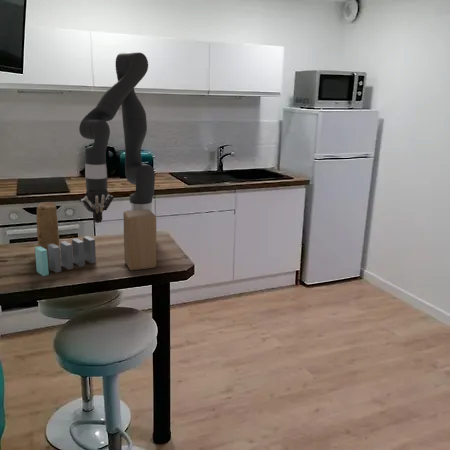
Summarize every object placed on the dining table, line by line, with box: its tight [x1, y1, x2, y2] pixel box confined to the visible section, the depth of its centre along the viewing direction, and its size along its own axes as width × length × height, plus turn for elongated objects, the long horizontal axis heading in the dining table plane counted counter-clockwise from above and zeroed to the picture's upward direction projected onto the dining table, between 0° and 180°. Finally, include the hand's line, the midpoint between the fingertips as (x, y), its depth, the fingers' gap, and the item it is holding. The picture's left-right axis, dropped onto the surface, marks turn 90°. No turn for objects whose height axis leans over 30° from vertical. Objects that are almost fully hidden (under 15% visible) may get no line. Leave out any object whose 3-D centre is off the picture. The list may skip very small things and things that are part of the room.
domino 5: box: [82, 235, 97, 264], centre depth 167 cm, size 2×5×9 cm, turn 45°
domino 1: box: [34, 246, 50, 277], centre depth 155 cm, size 2×5×9 cm, turn 45°
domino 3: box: [59, 240, 74, 270], centre depth 161 cm, size 2×5×9 cm, turn 45°
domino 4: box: [71, 237, 86, 267], centre depth 164 cm, size 2×5×9 cm, turn 45°
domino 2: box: [48, 244, 62, 274], centre depth 158 cm, size 2×5×9 cm, turn 45°
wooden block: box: [122, 209, 157, 271], centre depth 164 cm, size 10×10×20 cm
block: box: [36, 201, 60, 259], centre depth 171 cm, size 11×8×20 cm
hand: (98, 222), depth 167 cm, fingers closed
